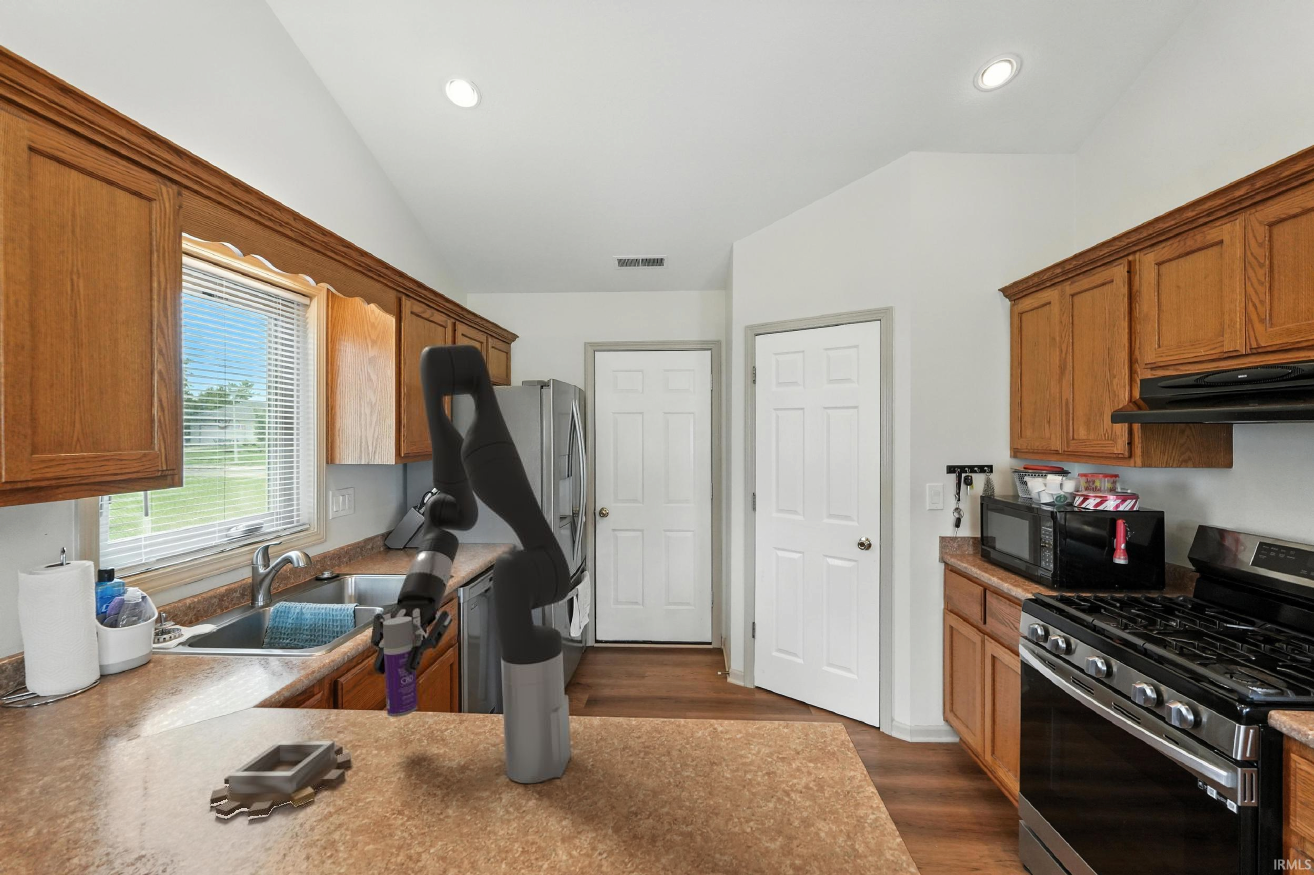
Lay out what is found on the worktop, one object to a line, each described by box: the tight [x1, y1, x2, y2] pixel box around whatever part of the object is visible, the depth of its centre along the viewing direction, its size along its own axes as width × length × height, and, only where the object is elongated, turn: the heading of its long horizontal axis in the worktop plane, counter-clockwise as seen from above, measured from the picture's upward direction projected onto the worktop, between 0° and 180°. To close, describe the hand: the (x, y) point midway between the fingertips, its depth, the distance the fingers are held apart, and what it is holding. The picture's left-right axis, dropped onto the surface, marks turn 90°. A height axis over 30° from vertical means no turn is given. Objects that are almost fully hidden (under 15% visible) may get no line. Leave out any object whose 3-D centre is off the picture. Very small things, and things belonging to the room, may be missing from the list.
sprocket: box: [209, 740, 352, 818], centre depth 86 cm, size 18×18×4 cm
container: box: [383, 617, 418, 718], centre depth 95 cm, size 5×5×15 cm
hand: (394, 671), depth 93 cm, fingers closed on container, 4 cm apart
